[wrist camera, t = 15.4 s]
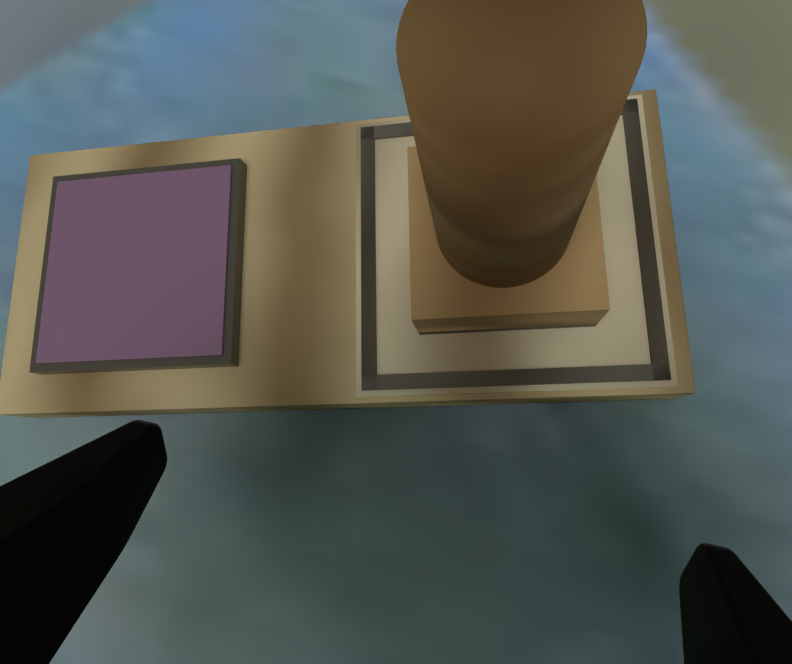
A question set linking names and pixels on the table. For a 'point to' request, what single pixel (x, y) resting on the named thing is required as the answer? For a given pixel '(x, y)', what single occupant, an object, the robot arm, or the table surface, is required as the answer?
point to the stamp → (512, 156)
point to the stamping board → (371, 288)
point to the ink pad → (142, 270)
